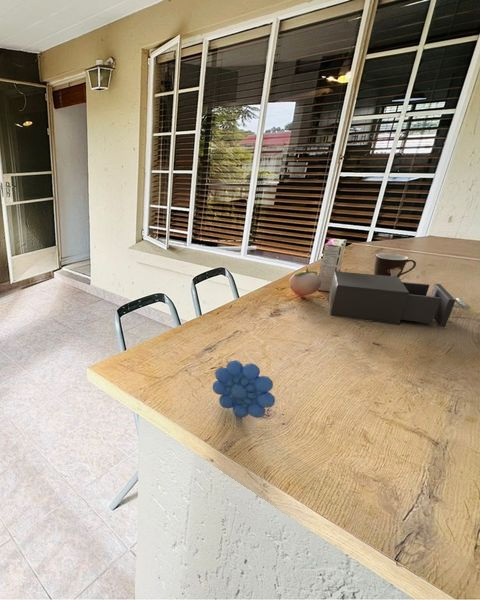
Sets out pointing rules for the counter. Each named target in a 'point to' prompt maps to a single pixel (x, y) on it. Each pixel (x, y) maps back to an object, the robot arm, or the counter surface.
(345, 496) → the counter surface
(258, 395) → the blue bumpy cluster
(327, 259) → the candy bar box
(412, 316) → the drawer
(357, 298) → the cabinet
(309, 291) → the decorative fruit
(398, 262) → the coffee mug
